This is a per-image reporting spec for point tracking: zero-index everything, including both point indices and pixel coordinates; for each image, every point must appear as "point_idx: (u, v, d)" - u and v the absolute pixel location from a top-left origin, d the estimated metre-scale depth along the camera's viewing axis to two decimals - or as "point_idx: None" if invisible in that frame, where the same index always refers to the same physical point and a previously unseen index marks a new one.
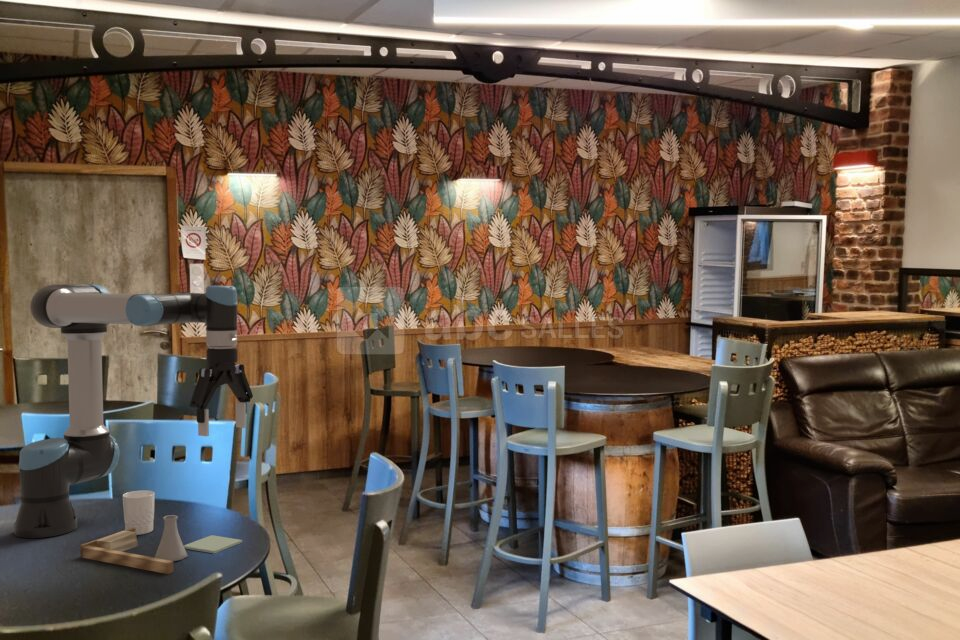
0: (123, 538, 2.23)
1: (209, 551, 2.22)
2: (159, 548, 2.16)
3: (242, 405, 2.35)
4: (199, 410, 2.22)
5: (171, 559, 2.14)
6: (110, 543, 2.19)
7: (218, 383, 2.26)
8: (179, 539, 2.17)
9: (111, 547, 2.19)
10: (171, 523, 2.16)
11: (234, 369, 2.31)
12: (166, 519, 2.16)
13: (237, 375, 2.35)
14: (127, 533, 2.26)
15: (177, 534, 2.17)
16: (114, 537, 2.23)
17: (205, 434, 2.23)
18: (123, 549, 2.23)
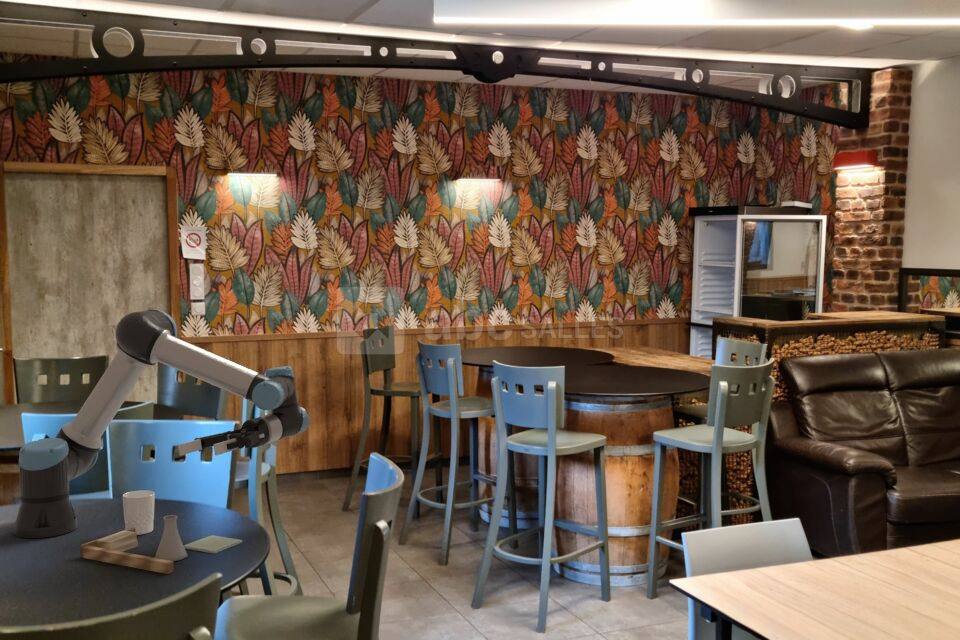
0: (123, 539, 2.23)
1: (209, 551, 2.22)
2: (159, 548, 2.16)
3: (199, 448, 2.36)
4: (239, 444, 2.28)
5: (171, 559, 2.14)
6: (110, 543, 2.19)
7: None
8: (179, 539, 2.17)
9: (111, 547, 2.19)
10: (171, 523, 2.16)
11: None
12: (166, 519, 2.16)
13: None
14: (127, 533, 2.26)
15: (177, 534, 2.17)
16: (114, 537, 2.22)
17: (218, 453, 2.24)
18: (123, 549, 2.23)
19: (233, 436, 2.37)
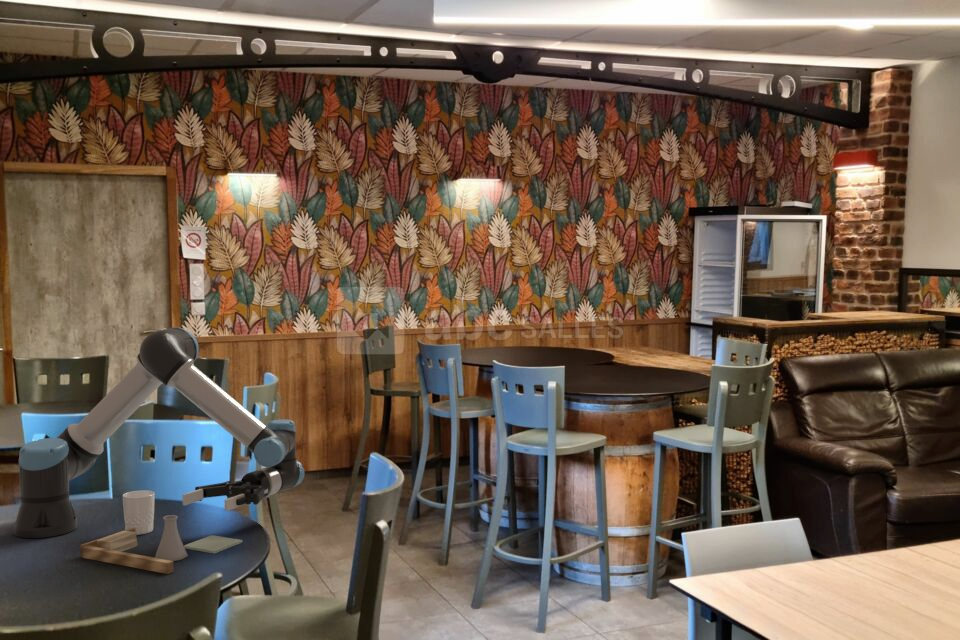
0: (123, 539, 2.23)
1: (209, 551, 2.22)
2: (159, 548, 2.16)
3: (201, 498, 2.35)
4: (248, 500, 2.29)
5: (171, 559, 2.14)
6: (110, 543, 2.19)
7: None
8: (179, 539, 2.17)
9: (111, 547, 2.19)
10: (171, 523, 2.16)
11: None
12: (166, 519, 2.16)
13: None
14: (127, 533, 2.26)
15: (177, 534, 2.17)
16: (114, 537, 2.22)
17: (228, 509, 2.24)
18: (123, 549, 2.23)
19: (236, 489, 2.38)
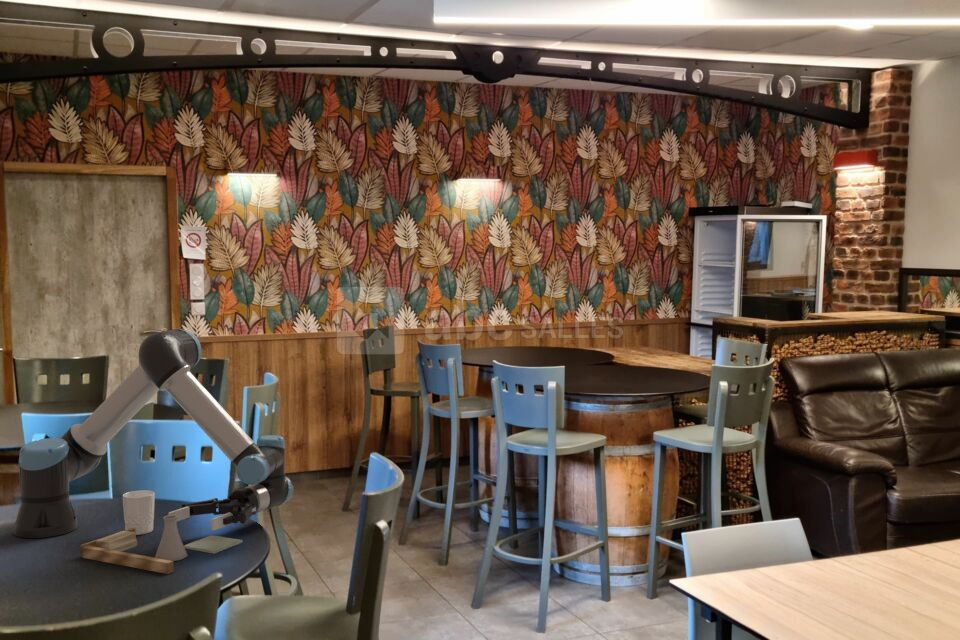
0: (122, 539, 2.23)
1: (209, 551, 2.22)
2: (159, 548, 2.16)
3: (187, 516, 2.30)
4: (235, 520, 2.25)
5: (171, 559, 2.14)
6: (109, 543, 2.19)
7: None
8: (179, 539, 2.17)
9: (110, 547, 2.19)
10: (171, 523, 2.16)
11: None
12: (166, 519, 2.16)
13: None
14: (126, 533, 2.26)
15: (177, 534, 2.17)
16: (113, 537, 2.23)
17: (214, 528, 2.20)
18: (123, 549, 2.24)
19: (223, 506, 2.33)
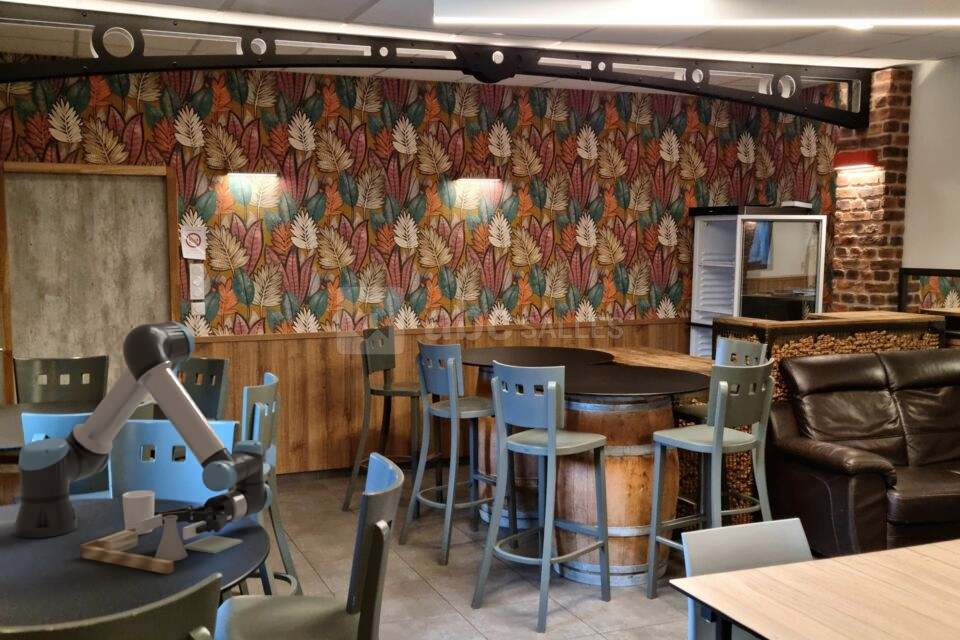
0: (124, 538, 2.23)
1: (209, 551, 2.22)
2: (159, 548, 2.16)
3: (160, 524, 2.23)
4: (209, 528, 2.17)
5: (171, 559, 2.14)
6: (111, 543, 2.19)
7: None
8: (179, 539, 2.17)
9: (112, 547, 2.20)
10: (171, 523, 2.16)
11: None
12: (166, 519, 2.16)
13: None
14: (128, 533, 2.26)
15: (177, 534, 2.17)
16: (115, 537, 2.23)
17: (186, 537, 2.12)
18: (123, 549, 2.24)
19: (198, 514, 2.26)
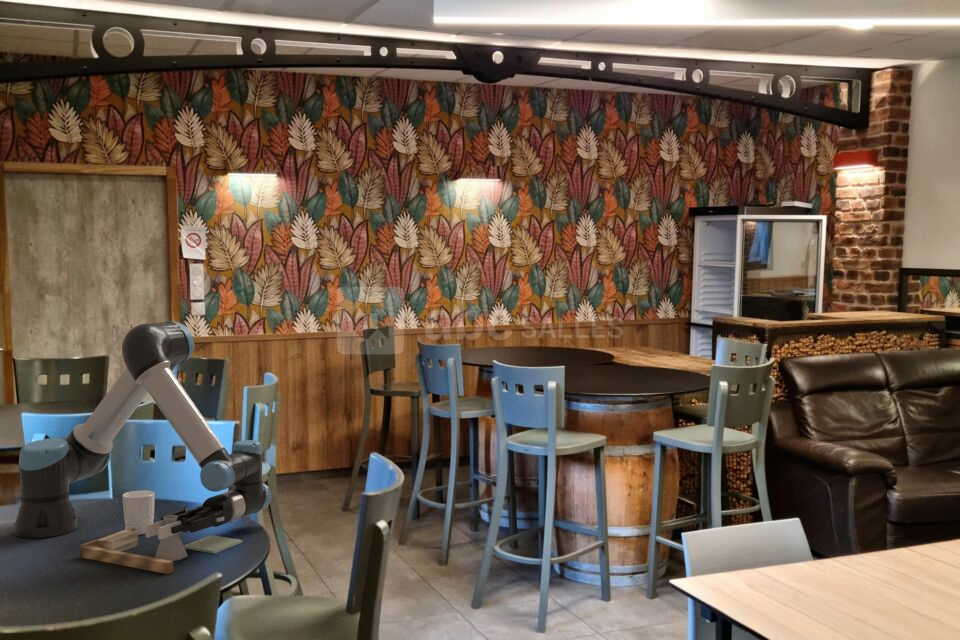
0: (124, 538, 2.23)
1: (209, 551, 2.22)
2: (159, 548, 2.16)
3: None
4: (184, 528, 2.17)
5: (171, 559, 2.14)
6: (112, 542, 2.19)
7: None
8: (179, 539, 2.17)
9: (113, 546, 2.20)
10: None
11: None
12: (166, 519, 2.16)
13: None
14: (129, 532, 2.26)
15: (177, 534, 2.17)
16: (116, 536, 2.23)
17: (161, 537, 2.12)
18: (123, 549, 2.24)
19: (196, 514, 2.25)
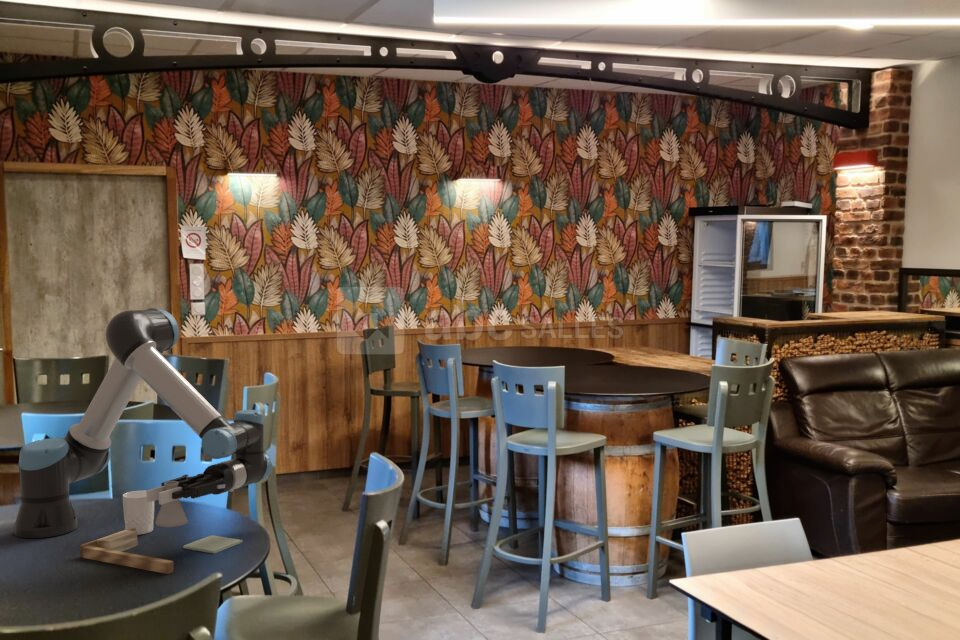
0: (123, 537, 2.23)
1: (209, 551, 2.22)
2: (159, 513, 2.16)
3: None
4: (185, 494, 2.16)
5: (171, 524, 2.14)
6: (110, 542, 2.19)
7: None
8: (180, 505, 2.17)
9: (111, 546, 2.20)
10: None
11: None
12: (167, 484, 2.15)
13: None
14: (128, 532, 2.26)
15: (178, 500, 2.17)
16: (114, 536, 2.23)
17: (162, 502, 2.11)
18: (123, 549, 2.24)
19: (197, 481, 2.25)
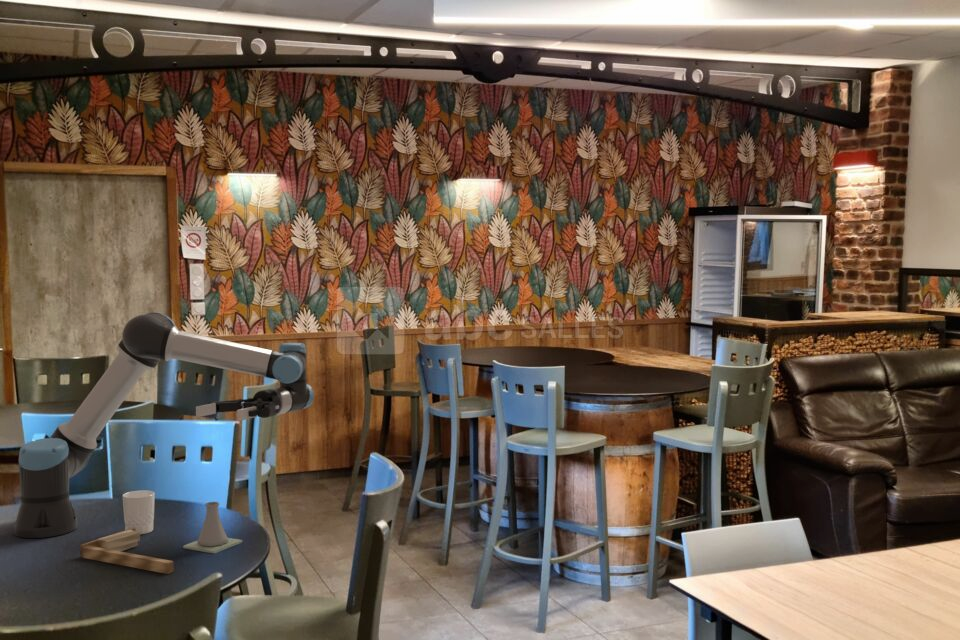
0: (123, 538, 2.23)
1: (209, 551, 2.22)
2: (201, 533, 2.26)
3: (214, 412, 2.40)
4: (260, 413, 2.34)
5: (213, 543, 2.24)
6: (108, 543, 2.19)
7: None
8: (220, 524, 2.27)
9: (109, 547, 2.20)
10: (213, 509, 2.26)
11: None
12: (208, 505, 2.26)
13: None
14: (130, 533, 2.26)
15: (219, 520, 2.27)
16: (115, 536, 2.23)
17: (240, 419, 2.30)
18: (123, 549, 2.24)
19: (248, 404, 2.43)
